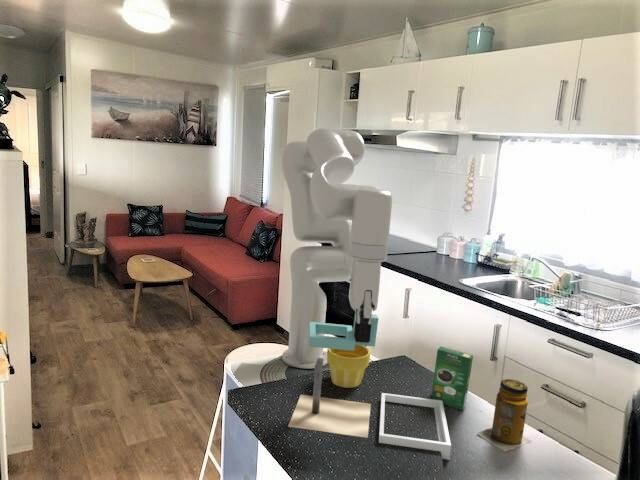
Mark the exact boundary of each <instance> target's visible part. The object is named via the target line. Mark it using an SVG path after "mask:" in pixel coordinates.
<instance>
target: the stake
mask: <svg viewBox="0 0 640 480" xmlns="http://www.w3.org/2000/svg"><path fill="white" fill-rule="evenodd" d="M323 360H324V359H323V358H318V359H317V362H316V365H315V367H314V368H313V369H314V371H313V373H314V375H313V376H314V377H313V391H312V392H313V393H312V396H313V402H312V413H313V414H319V410H320V397H321V393H322V380H323V367H324V366H323Z"/></svg>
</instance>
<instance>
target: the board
mask: <svg viewBox="0 0 640 480" xmlns="http://www.w3.org/2000/svg"><path fill="white" fill-rule="evenodd" d="M312 402H313V395H308V394H307V395H306V394H300V395H299V398H298V401H297V404H296V405H295V408H294V410H293V413H292V416H291V418H290V421H289V423H288V426H287V427H289V428H295V429H302V430H303V429H304V430H309V431H316V432H324V433H331V434H336V435H344V436H352V437H357V438H358V437H360V438H366V439H368V438H369V429H370V416H371V407H372V404H371V403H367V402H359V401H354V400H353V401H352V400H344V399H336V398H329V397H321V396H320V410H319V414H313V413H312Z"/></svg>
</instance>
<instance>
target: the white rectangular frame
mask: <svg viewBox="0 0 640 480" xmlns="http://www.w3.org/2000/svg"><path fill="white" fill-rule="evenodd" d="M386 402H389V403H395V404H397V403H398V404H404V405H409V406H410V405H411V406H418V407H427V408H433V412H434V418H435V424H436V430H437V436H438V440H430V439H425V438H417V437H410V436H409V437H408V436H403V435H396V434H389V433H385V414H386V413H385V408H386V407H385V406H386ZM445 413H446V412H445V407H444V404H443V402H442V401H441V400H433V399H432V398H424V397H416V396H409V395H402V394H395V393H393V394H392V393H385V392H381V398H380V414H379V428H378V429H379V432H378V443H379V444H387V445H394V446H399V447H407V448H412V449H413V448H414V449H422V450H427V451H434V452H440V455H441V459H442V460H449V461H450V458H451V451H452V442H451V437H450V433H449V428H448V422H447V417H446V414H445Z"/></svg>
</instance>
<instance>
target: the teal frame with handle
mask: <svg viewBox="0 0 640 480" xmlns="http://www.w3.org/2000/svg"><path fill="white" fill-rule="evenodd" d="M354 317H355V319H354V318H353V321H354V327H353V325H348V324H347V325H346V324H338V323H337V324H336V323H327V322H325V323H319V322H310V324H309V347H319V348H323V349H328V348H330V349H340V350H351V351H354V349H355V345H363V346H366V347H373V348H374V347H375V346H376V340H377V333H378V326H379V317H378V314H373V313H372V316H371V333H370V342H368V343H365V342H355V337H354V331H355V322H357V313H355V312H354ZM316 333H319V334H324V336H318V335H316ZM327 335H330V336H327ZM331 335H332V336H331ZM337 336H338V337H337ZM339 336H340V337H339ZM341 336H343V337H341Z"/></svg>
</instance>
